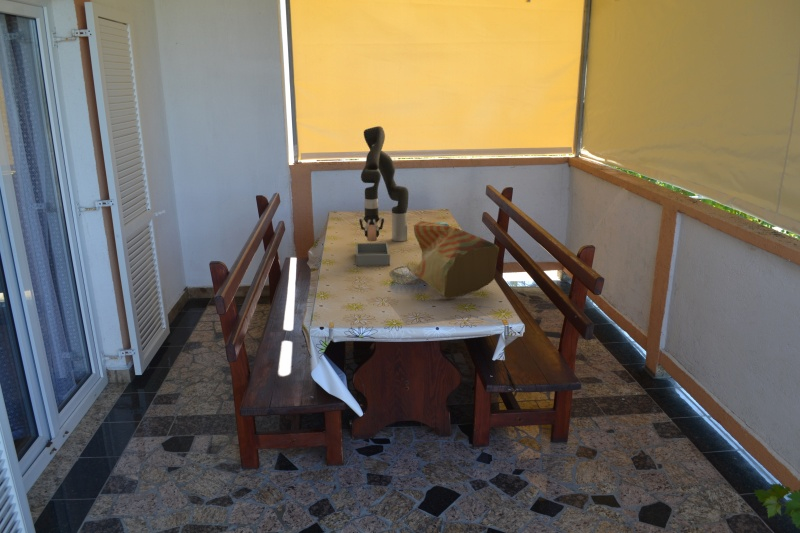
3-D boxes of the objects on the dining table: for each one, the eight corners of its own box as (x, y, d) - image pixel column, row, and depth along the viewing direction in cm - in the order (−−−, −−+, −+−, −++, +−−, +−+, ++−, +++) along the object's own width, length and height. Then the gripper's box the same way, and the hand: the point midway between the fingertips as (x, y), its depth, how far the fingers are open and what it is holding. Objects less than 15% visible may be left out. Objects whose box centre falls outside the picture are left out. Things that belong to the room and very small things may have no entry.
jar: (376, 238, 354) (376, 223, 352) (376, 241, 350) (376, 225, 347) (367, 239, 354) (366, 223, 351) (367, 241, 349) (367, 225, 346)
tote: (387, 252, 367) (387, 242, 365) (389, 265, 344) (389, 254, 342) (356, 253, 366) (355, 243, 364) (356, 266, 343) (356, 255, 341)
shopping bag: (467, 235, 276) (405, 203, 301) (437, 300, 281) (378, 263, 306) (509, 249, 304) (449, 219, 329) (481, 308, 309) (424, 274, 334)
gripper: (384, 205, 350) (384, 234, 355) (358, 205, 349) (358, 235, 354) (384, 207, 343) (385, 238, 348) (358, 208, 342) (358, 238, 347)
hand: (371, 236), depth 351 cm, fingers closed on jar, 5 cm apart
